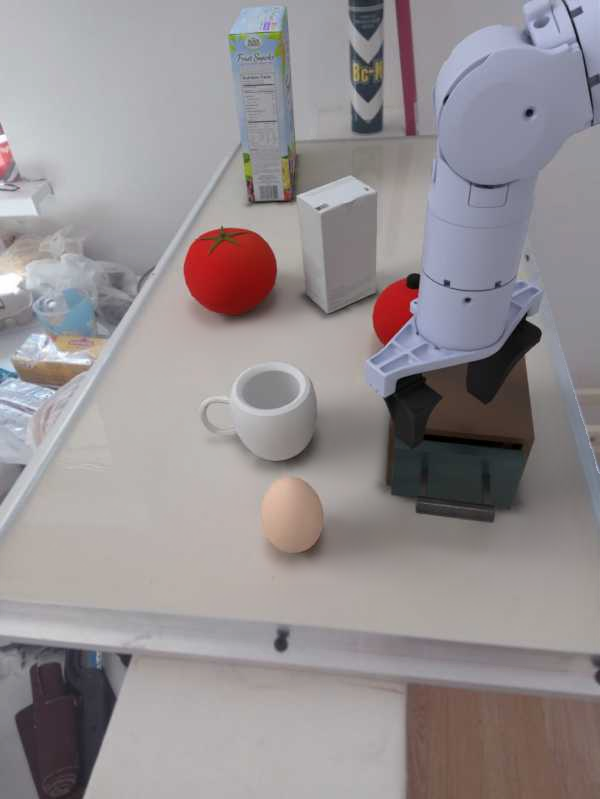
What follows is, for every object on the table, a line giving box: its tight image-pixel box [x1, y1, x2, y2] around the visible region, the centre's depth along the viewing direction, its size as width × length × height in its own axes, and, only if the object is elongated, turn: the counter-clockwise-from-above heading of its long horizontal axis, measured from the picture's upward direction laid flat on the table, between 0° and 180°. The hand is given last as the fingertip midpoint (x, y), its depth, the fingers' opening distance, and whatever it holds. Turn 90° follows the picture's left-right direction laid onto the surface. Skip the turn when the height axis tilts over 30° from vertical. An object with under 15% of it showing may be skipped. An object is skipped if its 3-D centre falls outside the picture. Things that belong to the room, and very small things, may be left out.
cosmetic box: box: [296, 174, 379, 315], centre depth 69 cm, size 8×6×15 cm
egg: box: [260, 476, 325, 554], centre depth 45 cm, size 5×5×8 cm
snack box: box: [227, 4, 297, 203], centre depth 95 cm, size 22×9×26 cm, turn 179°
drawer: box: [390, 434, 527, 524], centre depth 49 cm, size 17×10×7 cm, turn 168°
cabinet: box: [385, 354, 536, 501], centre depth 52 cm, size 14×12×9 cm
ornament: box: [371, 272, 421, 347], centre depth 62 cm, size 9×9×10 cm
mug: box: [198, 361, 318, 462], centre depth 54 cm, size 12×8×8 cm
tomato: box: [182, 225, 278, 316], centre depth 72 cm, size 11×12×10 cm
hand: (444, 417), depth 43 cm, fingers open, 7 cm apart
